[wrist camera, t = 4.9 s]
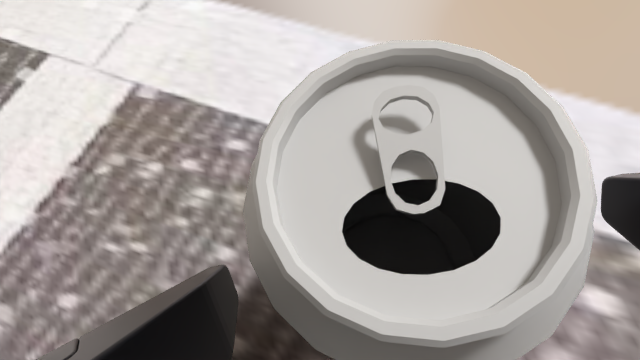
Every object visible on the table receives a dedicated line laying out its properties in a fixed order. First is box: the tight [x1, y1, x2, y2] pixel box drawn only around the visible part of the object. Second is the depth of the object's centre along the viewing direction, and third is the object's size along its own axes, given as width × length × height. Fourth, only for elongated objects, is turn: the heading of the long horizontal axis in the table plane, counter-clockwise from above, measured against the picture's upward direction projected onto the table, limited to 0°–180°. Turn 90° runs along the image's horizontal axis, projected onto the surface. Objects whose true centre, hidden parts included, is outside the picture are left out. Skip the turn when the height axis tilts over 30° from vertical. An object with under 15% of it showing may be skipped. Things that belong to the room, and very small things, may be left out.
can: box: [243, 40, 597, 360], centre depth 13 cm, size 8×8×12 cm
